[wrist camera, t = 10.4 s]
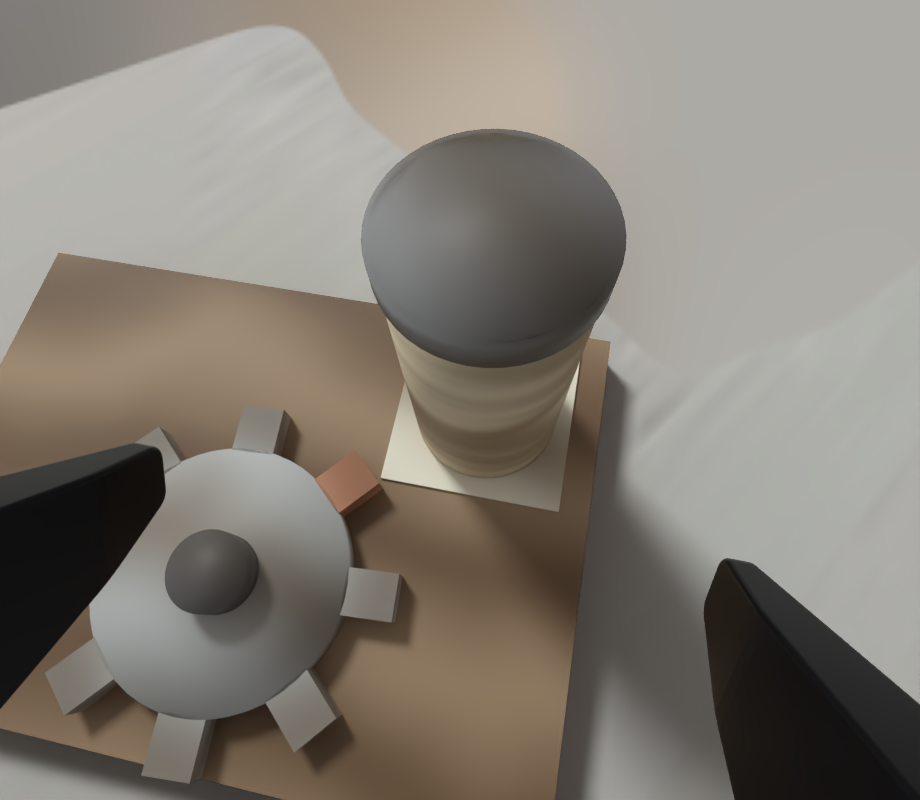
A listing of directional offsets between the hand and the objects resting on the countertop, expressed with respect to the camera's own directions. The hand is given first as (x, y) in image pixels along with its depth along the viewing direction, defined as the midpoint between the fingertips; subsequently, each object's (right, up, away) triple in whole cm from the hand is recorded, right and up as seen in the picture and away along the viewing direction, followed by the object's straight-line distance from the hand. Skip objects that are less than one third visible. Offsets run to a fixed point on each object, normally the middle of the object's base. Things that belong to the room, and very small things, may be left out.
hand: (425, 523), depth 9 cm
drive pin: (+1, +2, +11) cm, 11 cm away
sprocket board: (-6, -2, +12) cm, 14 cm away
